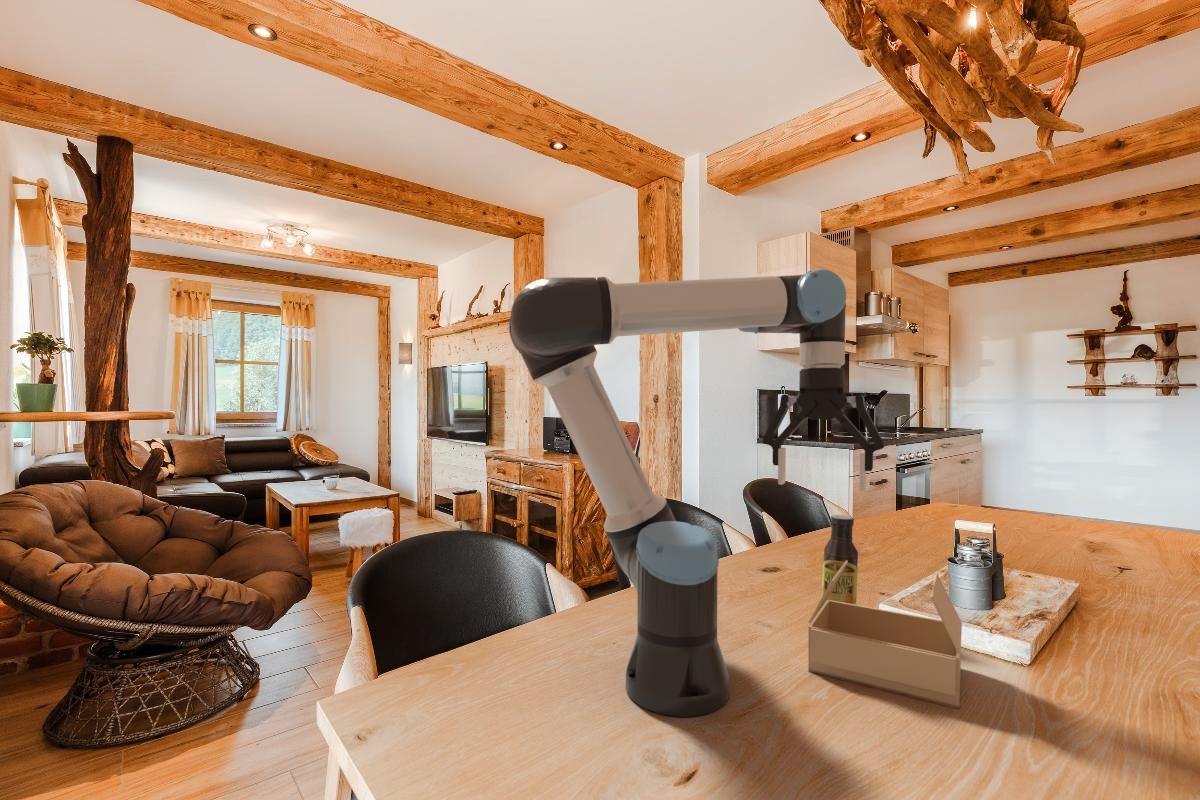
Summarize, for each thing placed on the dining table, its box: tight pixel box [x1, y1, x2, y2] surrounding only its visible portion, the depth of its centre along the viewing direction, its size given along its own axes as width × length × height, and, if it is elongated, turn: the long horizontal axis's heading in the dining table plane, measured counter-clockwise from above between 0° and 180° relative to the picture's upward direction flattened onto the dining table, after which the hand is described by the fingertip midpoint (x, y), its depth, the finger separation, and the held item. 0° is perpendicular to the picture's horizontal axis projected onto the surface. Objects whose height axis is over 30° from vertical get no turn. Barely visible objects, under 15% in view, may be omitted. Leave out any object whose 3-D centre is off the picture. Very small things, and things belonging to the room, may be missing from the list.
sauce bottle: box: [820, 514, 859, 607], centre depth 111 cm, size 6×6×20 cm
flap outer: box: [930, 572, 963, 654], centre depth 86 cm, size 13×1×8 cm, turn 147°
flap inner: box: [808, 560, 848, 624], centre depth 95 cm, size 13×1×8 cm, turn 147°
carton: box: [807, 600, 962, 710], centre depth 90 cm, size 15×20×7 cm
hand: (820, 486), depth 103 cm, fingers open, 13 cm apart
